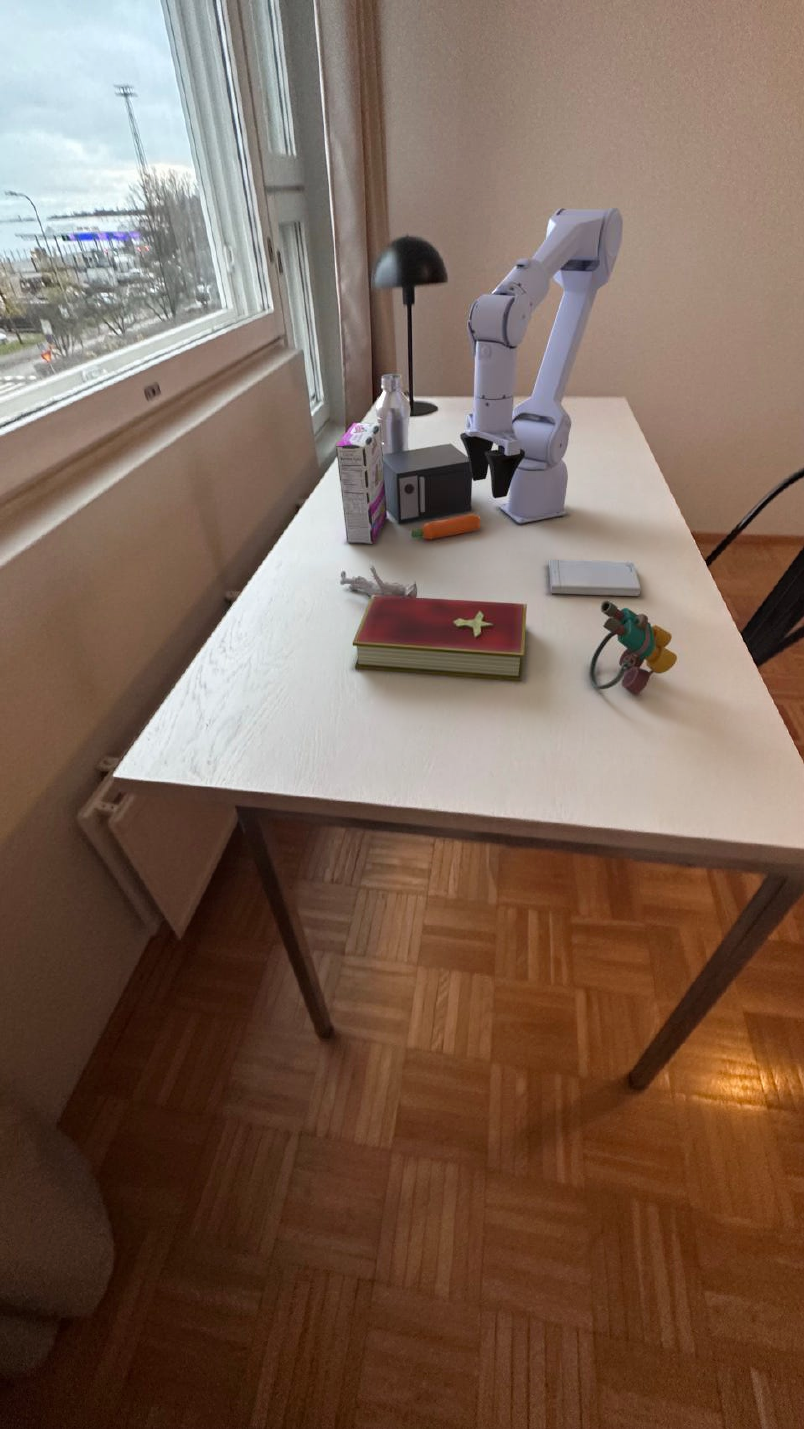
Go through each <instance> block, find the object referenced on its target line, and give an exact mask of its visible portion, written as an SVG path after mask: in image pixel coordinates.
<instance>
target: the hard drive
mask: <svg viewBox="0 0 804 1429" xmlns="http://www.w3.org/2000/svg"><path fill="white" fill-rule="evenodd" d="M548 566H549V567H548V572H549V588H550V594H558V595H559V594H561V595H562V594H563V595H588V596H589V595H591V596H623V597H640V593H641V585H640V581H639V577H638V574H637V571H636V567H635V563H634V561H614V560H613V561H612V560H611V561H608V560H575V559H574V560H573V559H550V560H549V565H548Z"/></svg>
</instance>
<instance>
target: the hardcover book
mask: <svg viewBox="0 0 804 1429" xmlns="http://www.w3.org/2000/svg"><path fill="white" fill-rule="evenodd" d="M527 608H528V604H527V603H519V602H518V603H516V602H501V601H500V602H499V601H483V600H482V601H481V600H467V599H466V600H465V599H451V598H450V599H449V598H448V599H447V598H429V597H416V598H415V597H398V596H380V595H372V596H371V597H370V599H369V602H368V604H367V606H366V609H365V611H364V614H363V616H362V619H361V621H360V623H359V626H358V629H357V631H356V633H355V636H354V638H353V640H352V644H351V645H352V646H353V647H356V653H357V660H356V662H355V665H354V668H355V669H357V670H372V671H385V672H396V673H412V674H423V675H424V674H425V675H437V676H449V677H461V678H476V679H488V680H489V679H490V680H500V681H501V680H502V681H513V682H514V681H515V682H522V676H523V674H522V672H523V659H524V657H525V645H526V644H525V643H526V627H527V626H526V625H527V611H528V610H527Z"/></svg>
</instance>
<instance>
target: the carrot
mask: <svg viewBox="0 0 804 1429" xmlns="http://www.w3.org/2000/svg"><path fill="white" fill-rule="evenodd" d="M481 524H482V521H481V518H480V516H479V515H478V514H475V513H469V514H465V515H460V516H455V517H454V516H453V517H449V518H443V519H438V520H433V521H428V522H425V523H424V524H422V526H421V528H417V529H412V530H411V531H410V536H411V538H412V539H414V538H420V537H423V538H424V539H425V540H433V539H434V540H435V539H440V538H445V537H449V536H455V535H460V534H465V533H470V532H474V531H477V530H479V528H480V527H481Z"/></svg>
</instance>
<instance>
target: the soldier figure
mask: <svg viewBox="0 0 804 1429" xmlns="http://www.w3.org/2000/svg"><path fill="white" fill-rule="evenodd" d="M368 568H369V569H370V571H371V573H372V577H373V580H375V582H374V581H372V580H368V579H366V578H365V577H364V576H362V575H357V576H352V577H346V576H347V572H346V571H344V570H342V571H341V573H340V578H341V580H340V582H339V583H340V585H341V586H344V585H349V586H348V587H349V588H348V589H349V590H354V589H355V590H363V591H364V592H365V594H366V595H367V596H369V597H370V598H371V596H372V595H380V596H398V597H415V598H418V587H417V583H416V581H415V580H414V581H413V582H412V583H411V584H410V585H409V584H408V585H407V587H406V586H404V585H402V584H400V583H399V582H391V583H389V582H388V581H386V582H384V581H383V580H382V579H381V578H380V576H379V574H378V573H377V570H376V568H375V566H374V564H371V565H369V566H368Z"/></svg>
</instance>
